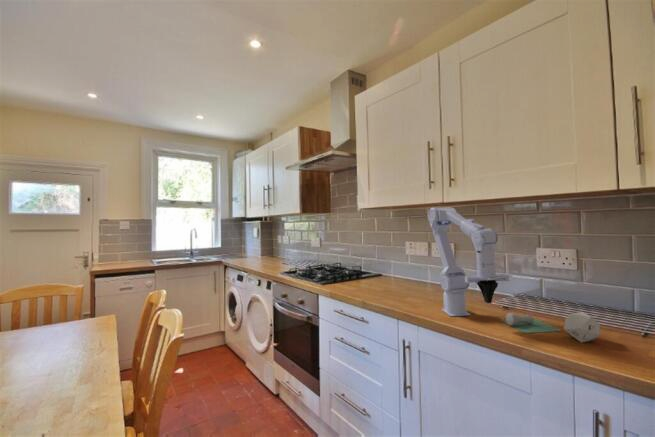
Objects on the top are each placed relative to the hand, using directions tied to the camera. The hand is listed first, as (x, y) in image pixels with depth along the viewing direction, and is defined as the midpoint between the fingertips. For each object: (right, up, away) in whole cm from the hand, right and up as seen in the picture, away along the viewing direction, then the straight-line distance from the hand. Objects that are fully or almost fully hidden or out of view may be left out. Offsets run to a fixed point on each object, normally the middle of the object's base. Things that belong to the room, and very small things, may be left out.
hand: (488, 302), depth 106 cm
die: (+21, -8, -14) cm, 27 cm away
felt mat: (+14, -8, 0) cm, 16 cm away
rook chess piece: (+7, -6, 0) cm, 9 cm away
